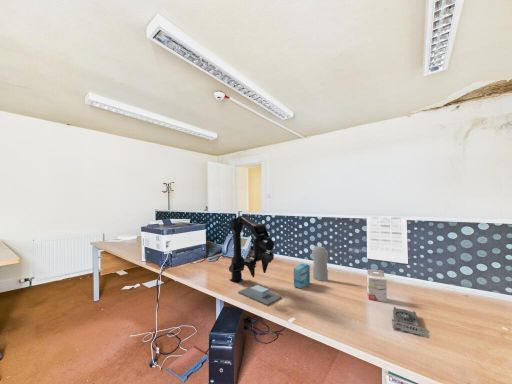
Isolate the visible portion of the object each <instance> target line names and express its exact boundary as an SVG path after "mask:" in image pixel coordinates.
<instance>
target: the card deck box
mask: <svg viewBox="0 0 512 384" xmlns="http://www.w3.org/2000/svg"><path fill="white" fill-rule="evenodd" d="M253 286H254V287H251V288H250V293H251V294H253V295H256V296H258V297H261V298H263V297H265V296H267V295H268V291H269V288H266V287H264V286H261V285H258V284H256V285H253Z"/></svg>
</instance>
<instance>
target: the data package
mask: <svg viewBox="0 0 512 384" xmlns="http://www.w3.org/2000/svg"><path fill="white" fill-rule="evenodd" d="M310 267H311V265H309V264H306V263H301V264H299V265H296V266H294V267H293V286H294V287H295V288H298V289H303V288H305V287H307V286H308V285H309V284H310V282H311V268H310Z"/></svg>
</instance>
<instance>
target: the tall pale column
mask: <svg viewBox="0 0 512 384" xmlns="http://www.w3.org/2000/svg"><path fill="white" fill-rule="evenodd" d="M311 257H312V261H313V266H312V278H313V280H316V281H321V282H328V280H329V278H328V275H329V274H328V259H329V252H328V251H327V248H326V247H324V246H321V245H314V246H313V250H312V251H311Z"/></svg>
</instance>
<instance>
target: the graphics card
mask: <svg viewBox="0 0 512 384" xmlns="http://www.w3.org/2000/svg"><path fill="white" fill-rule="evenodd" d="M392 314H393V318H391V322H392V323H391V325H392V329H393V330H397V331H401V332H403V333H406V334H413V335H414V336H418V337H425V338H428V339H429V338H430V335H429V334H430V330H428V329H427V328H423V327H421V326H420V322H419V319H418V316H417V313H416V311H414V310H413V311H412V310H411V311H410V310H407V309H404V308H397V307H396V306H393V310H392Z"/></svg>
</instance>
